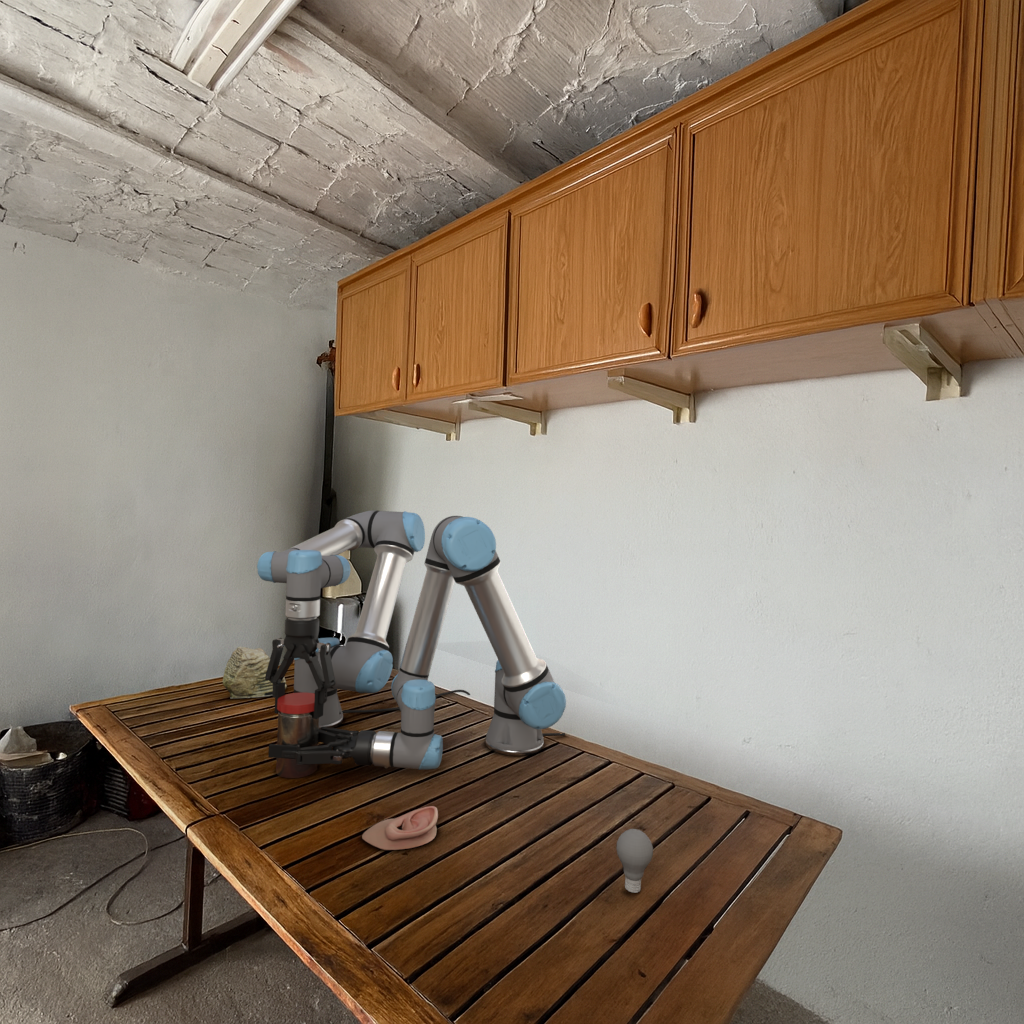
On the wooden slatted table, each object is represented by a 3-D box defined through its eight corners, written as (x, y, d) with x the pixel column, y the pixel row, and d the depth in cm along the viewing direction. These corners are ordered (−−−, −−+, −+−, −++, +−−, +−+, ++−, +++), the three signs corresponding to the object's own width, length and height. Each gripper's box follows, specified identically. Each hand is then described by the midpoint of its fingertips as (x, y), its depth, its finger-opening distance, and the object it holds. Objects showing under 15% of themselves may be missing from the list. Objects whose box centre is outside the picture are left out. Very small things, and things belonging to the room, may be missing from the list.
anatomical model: (355, 823, 115) (380, 795, 127) (354, 845, 116) (380, 815, 127) (424, 834, 113) (444, 804, 124) (423, 856, 113) (443, 824, 124)
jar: (270, 778, 141) (273, 709, 141) (282, 761, 150) (285, 696, 150) (311, 778, 142) (314, 710, 142) (321, 762, 151) (323, 697, 151)
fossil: (218, 695, 195) (220, 647, 195) (278, 685, 208) (279, 640, 207) (228, 703, 189) (230, 653, 188) (289, 692, 201) (290, 645, 201)
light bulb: (610, 879, 108) (613, 822, 108) (644, 879, 109) (647, 822, 109) (619, 902, 102) (622, 840, 102) (655, 901, 103) (658, 840, 103)
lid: (267, 710, 143) (268, 702, 143) (293, 698, 152) (293, 690, 152) (305, 716, 140) (305, 707, 140) (328, 703, 149) (328, 695, 149)
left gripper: (250, 616, 145) (246, 713, 145) (337, 624, 139) (333, 725, 140) (270, 610, 152) (266, 703, 152) (354, 619, 147) (350, 715, 147)
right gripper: (360, 785, 135) (256, 779, 136) (385, 746, 156) (296, 740, 157) (361, 750, 134) (257, 744, 135) (386, 716, 156) (297, 710, 157)
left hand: (298, 714), depth 146 cm, fingers closed on lid, 9 cm apart
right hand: (278, 742), depth 146 cm, fingers closed on jar, 9 cm apart
